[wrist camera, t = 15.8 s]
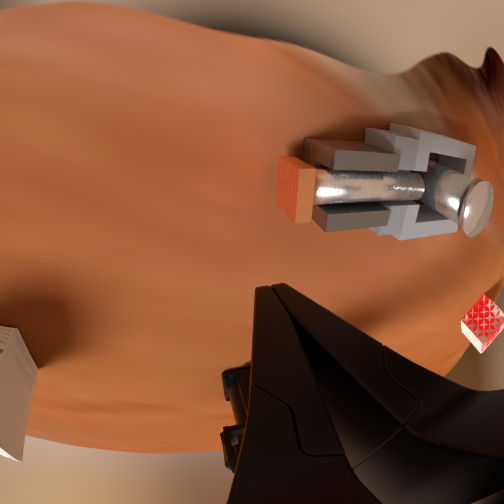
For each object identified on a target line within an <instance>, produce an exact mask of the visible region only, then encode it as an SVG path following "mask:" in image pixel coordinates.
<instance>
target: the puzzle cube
mask: <svg viewBox="0 0 504 504" xmlns="http://www.w3.org/2000/svg"><path fill="white" fill-rule="evenodd" d="M461 326H462V332H463V334H464V335H465V336H466V337H467V338H468V339H469V340H470V342H471V343H472V344H473V345H474V346H475V347H476V349H477V350H478V351H479V352H480V353H483V351H484V350H485V349H486V348H487V347H488V345H490V344H491V342H492V341H493V340H494V339H495V338H496V336H497V335H498V334H499V333H500V332H501V330H502V329H503V327H504V313H503V312H502V311H501V310H500V309H499V308H498V307H497V306H496V305H495V304H494V303H493V302H492V301H491V300H490V299H489V298H488V297H487V296H486V295H485V294H483V295H482V297H481V298H480V299H479V300H478V301H477V303H476V304H475V305H474V306H473V307H472V309H471V310H470V311H469V312H468V313H467V314H466V315H465V316H464V317H463V319H462V320H461Z"/></svg>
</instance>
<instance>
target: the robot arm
mask: <svg viewBox="0 0 504 504" xmlns="http://www.w3.org/2000/svg"><path fill="white" fill-rule="evenodd" d="M222 381H223V388H224V394H225V400H226V401H230V402H231V405H232V409H233V413H234V417H235V421H236V424H237V425H233V426H229V427H228V426H225V427H223V429H224V431H223V432H222V433H220V436H221V440H222V445H223V452H224V461H225V466H226V468H228V469H230V470H232V472H233V473H234V478H233V482H232V485H231V489H230V493H229V497H228V500H227V504H504V389H502V390H493V391H478V390H473V389H469V388H467V387H464V386H462V385H460V384H457V383H455V382H453V381H451V380H449V379H447V378H445V377H442V376H440V375H438V374H436V373H434V372H432V371H430V370H428V369H426V368H424V367H422V366H420V365H418V364H416V363H414V362H412V361H410V360H409V359H407V358H405V357H403V356H402V355H400V354H398V353H397V352H395V351H393V350H392V349H390V348H388V347H387V346H385V345H384V346H383V345H382V343H380V342H378V341H377V340H375V339H374V338H372V337H370V336H369V335H367V334H365V333H364V332H362V331H361V330H359V329H357V328H356V327H354V326H353V325H351V324H349V323H348V322H346V321H345V320H343V319H341V318H340V317H338V316H337V315H335V314H333V313H332V312H330V311H329V310H327V309H325V308H324V307H322V306H321V305H319V304H317V303H316V302H314V301H313V300H311V299H309V298H308V297H306V296H305V295H303V294H301V293H300V292H298V291H297V290H295V289H294V288H292V287H290V286H289V285H287V284H285V283H280V284H274V285H271V286H261V287H256V288H255V298H254V317H253V336H252V355H251V367H249V368H244V369H238V370H233V371H227V372H223V373H222ZM236 443H237V444H236Z"/></svg>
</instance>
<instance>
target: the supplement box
mask: <svg viewBox="0 0 504 504" xmlns="http://www.w3.org/2000/svg"><path fill="white" fill-rule="evenodd" d="M37 374H38V368H37V366H36V364H35V362H34V361H33V359H32V357H31V355H30V353H29V351H28V349H27V347H26V345H25V343H24V341H23V339H22V336H21V334H20V332H19V330H18V328H11V327H4V326H0V455H3V456H5V457H8V458H11V459H13V460H16V461H19V462H22V458H23V447H24V438H25V432H26V425H27V419H28V413H29V408H30V403H31V398H32V394H33V389H34V385H35V381H36V377H37Z"/></svg>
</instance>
